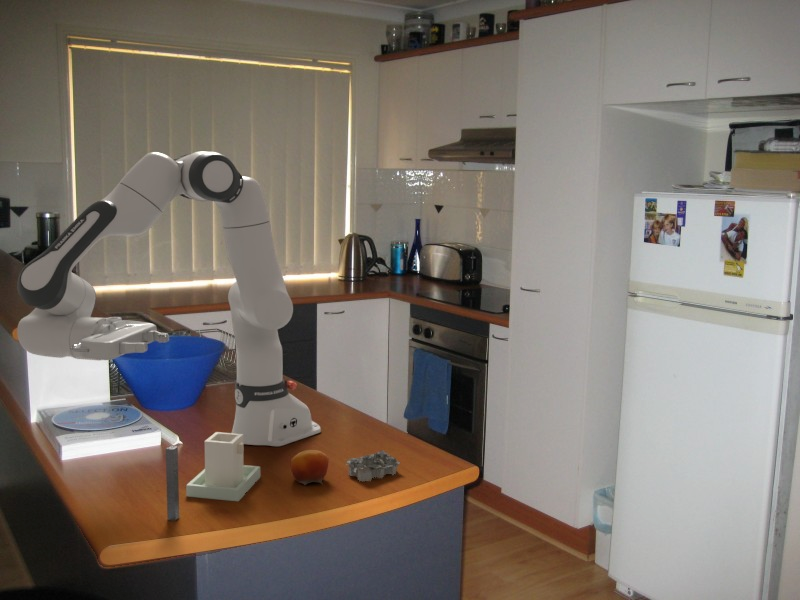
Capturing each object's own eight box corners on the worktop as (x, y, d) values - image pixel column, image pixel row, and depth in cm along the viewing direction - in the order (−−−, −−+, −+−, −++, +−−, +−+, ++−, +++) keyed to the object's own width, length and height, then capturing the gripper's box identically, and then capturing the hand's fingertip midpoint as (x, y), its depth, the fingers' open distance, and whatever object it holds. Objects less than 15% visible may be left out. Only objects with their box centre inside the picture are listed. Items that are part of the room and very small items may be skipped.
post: (171, 516, 152) (169, 446, 150) (179, 517, 152) (177, 446, 149) (167, 520, 150) (165, 448, 148) (175, 520, 150) (173, 449, 148)
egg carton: (361, 485, 170) (361, 467, 169) (343, 474, 176) (343, 456, 175) (402, 474, 176) (402, 457, 175) (383, 464, 182) (383, 447, 181)
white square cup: (216, 477, 170) (216, 431, 168) (248, 479, 169) (247, 434, 167) (205, 487, 164) (204, 441, 162) (237, 490, 163) (237, 444, 161)
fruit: (299, 486, 164) (294, 448, 166) (290, 493, 170) (285, 456, 173) (337, 481, 167) (331, 444, 169) (326, 488, 174) (321, 451, 176)
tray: (212, 472, 174) (211, 462, 173) (260, 477, 172) (260, 466, 172) (186, 496, 161) (186, 485, 161) (238, 501, 159) (238, 490, 159)
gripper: (65, 333, 155) (131, 337, 153) (118, 315, 175) (178, 318, 173) (66, 365, 156) (132, 370, 154) (119, 343, 176) (178, 347, 174)
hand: (157, 342), depth 163 cm, fingers open, 8 cm apart
